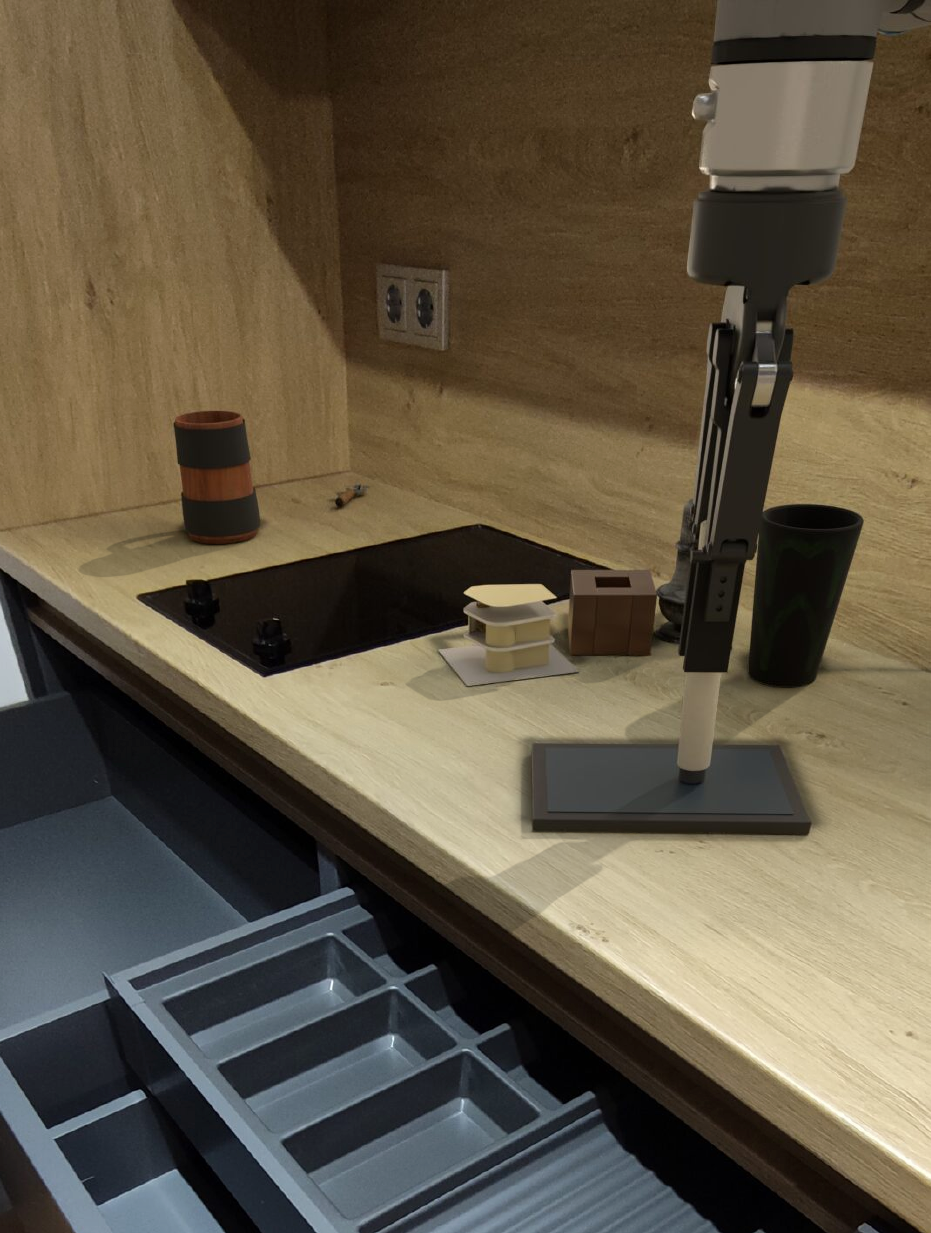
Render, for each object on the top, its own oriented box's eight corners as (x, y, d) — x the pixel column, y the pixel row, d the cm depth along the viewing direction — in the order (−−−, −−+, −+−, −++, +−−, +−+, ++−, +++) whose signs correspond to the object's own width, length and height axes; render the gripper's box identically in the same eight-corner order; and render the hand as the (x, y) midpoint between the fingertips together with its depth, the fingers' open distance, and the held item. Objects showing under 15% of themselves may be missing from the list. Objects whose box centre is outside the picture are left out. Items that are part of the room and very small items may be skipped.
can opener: (343, 508, 135) (342, 497, 134) (325, 506, 136) (324, 496, 135) (371, 490, 141) (370, 480, 140) (354, 489, 142) (354, 479, 141)
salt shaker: (640, 637, 100) (655, 488, 92) (669, 618, 104) (686, 473, 96) (700, 649, 97) (721, 497, 89) (727, 629, 101) (750, 481, 93)
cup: (735, 655, 96) (760, 501, 88) (826, 660, 95) (859, 505, 87) (734, 689, 91) (761, 528, 82) (831, 694, 89) (868, 531, 81)
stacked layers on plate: (543, 637, 100) (546, 572, 97) (579, 672, 94) (584, 603, 90) (437, 650, 99) (436, 584, 95) (467, 686, 92) (467, 617, 88)
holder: (644, 627, 102) (650, 569, 98) (650, 655, 97) (657, 594, 93) (567, 627, 102) (571, 569, 99) (570, 654, 97) (573, 594, 94)
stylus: (706, 770, 77) (736, 517, 66) (710, 784, 75) (741, 527, 65) (674, 771, 77) (698, 518, 66) (677, 785, 76) (703, 528, 65)
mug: (230, 514, 134) (216, 401, 126) (274, 537, 126) (261, 418, 119) (163, 526, 131) (144, 410, 123) (204, 550, 123) (186, 428, 115)
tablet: (777, 756, 81) (780, 743, 80) (809, 834, 72) (812, 821, 71) (531, 754, 82) (531, 741, 81) (532, 831, 73) (532, 818, 73)
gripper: (680, 178, 61) (634, 621, 77) (716, 191, 50) (653, 708, 66) (818, 175, 61) (743, 622, 76) (886, 188, 49) (782, 709, 65)
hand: (702, 661), depth 71 cm, fingers closed on stylus, 2 cm apart
